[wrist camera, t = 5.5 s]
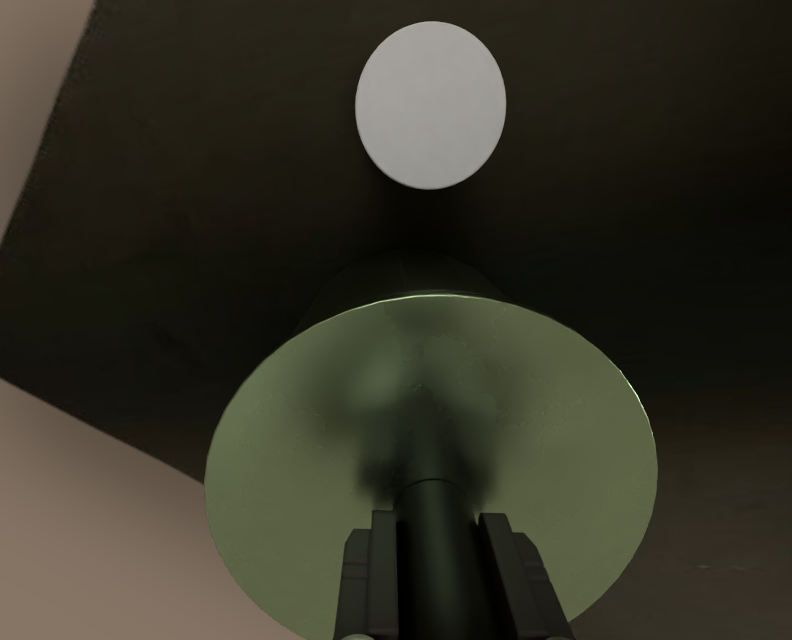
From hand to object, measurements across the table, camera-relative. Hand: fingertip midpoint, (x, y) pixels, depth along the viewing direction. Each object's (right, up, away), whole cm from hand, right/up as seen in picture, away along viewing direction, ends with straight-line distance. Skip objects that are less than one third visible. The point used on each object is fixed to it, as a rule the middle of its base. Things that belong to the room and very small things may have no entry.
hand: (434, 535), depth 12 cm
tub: (0, +17, +10) cm, 19 cm away
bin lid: (0, 0, +1) cm, 1 cm away
